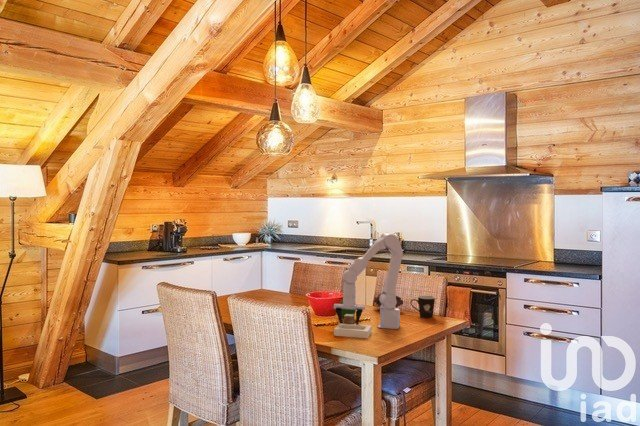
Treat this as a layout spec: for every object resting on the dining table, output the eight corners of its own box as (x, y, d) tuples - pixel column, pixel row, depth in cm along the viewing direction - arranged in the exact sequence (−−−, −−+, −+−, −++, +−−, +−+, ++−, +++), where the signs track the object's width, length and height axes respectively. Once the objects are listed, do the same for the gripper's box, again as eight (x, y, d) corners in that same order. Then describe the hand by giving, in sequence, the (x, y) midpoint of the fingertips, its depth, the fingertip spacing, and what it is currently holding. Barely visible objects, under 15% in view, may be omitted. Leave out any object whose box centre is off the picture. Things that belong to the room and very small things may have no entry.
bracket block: (354, 327, 248) (354, 314, 247) (352, 329, 244) (352, 316, 244) (345, 326, 249) (345, 313, 249) (344, 328, 245) (344, 315, 245)
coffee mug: (437, 316, 270) (437, 296, 269) (431, 319, 263) (431, 299, 262) (416, 313, 276) (416, 294, 276) (409, 316, 269) (409, 297, 268)
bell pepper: (337, 318, 265) (337, 298, 264) (342, 314, 272) (342, 295, 272) (353, 319, 262) (353, 299, 261) (358, 316, 269) (358, 296, 269)
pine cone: (406, 310, 283) (406, 291, 283) (398, 313, 275) (398, 294, 274) (376, 306, 293) (376, 288, 292) (368, 309, 284) (368, 291, 284)
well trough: (371, 332, 238) (371, 325, 238) (367, 338, 229) (367, 331, 229) (339, 329, 242) (339, 323, 242) (334, 335, 233) (334, 328, 233)
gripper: (332, 296, 244) (332, 325, 244) (363, 298, 240) (362, 327, 241) (335, 293, 251) (335, 322, 251) (365, 295, 247) (365, 324, 247)
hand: (349, 324), depth 246 cm, fingers open, 7 cm apart
